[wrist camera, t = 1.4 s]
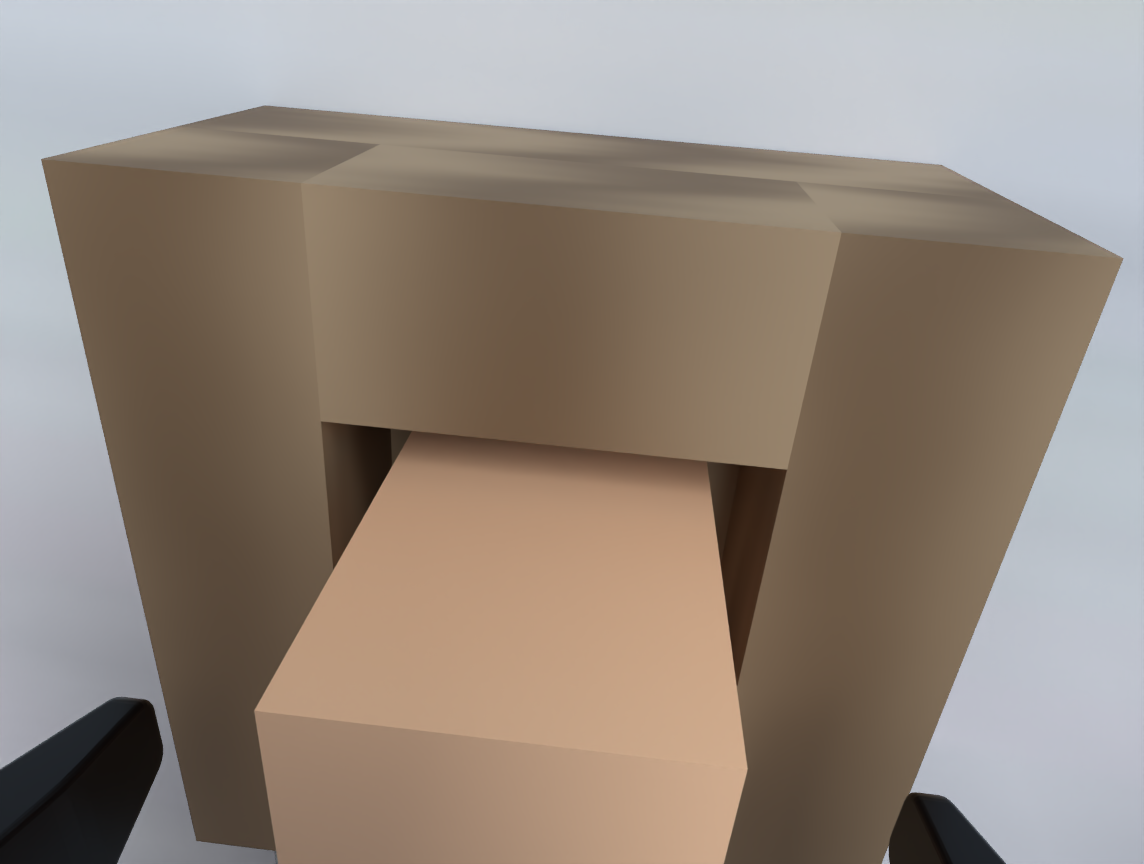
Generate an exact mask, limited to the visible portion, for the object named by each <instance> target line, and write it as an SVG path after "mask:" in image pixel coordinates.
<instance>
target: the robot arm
mask: <svg viewBox="0 0 1144 864" xmlns="http://www.w3.org/2000/svg"><path fill="white" fill-rule="evenodd" d="M162 756H163V744H162V740H161V736H160V731H159V727H158V723H157V719H156V715H155V710H154V707H153V705H152V704H151V703H150V702H149V701H147V700H144V699H136V698H127V697H116V698H113V699H111V700H109V701H107V702H105V703H104V704H102V705H101V706H99V707H97V708H96V709H94V710H93V711H91V712H90V713H88V714H86V715H85V716H83V717H82V718H80V719H79V720H77V721H75V722H74V723H72V724H71V725H69V726H68V727H66V728H64V729H63V730H61V731H60V732H58V733H57V734H55V735H53V736H52V737H50V738H49V739H47V740H46V741H44V742H42V743H41V744H39V745H38V746H36V747H35V748H33V749H31V750H30V751H28V752H27V753H25V754H24V755H22V756H20V757H19V758H17V759H16V760H14V761H13V762H11V763H9V764H8V765H6V766H5V767H3V768H2V769H0V864H117V862H118V860H119V858H120V856H121V853H122V851H123V849H124V847H125V844H126V842H127V840H128V838H129V835H130V833H131V831H132V829H133V826H134V824H135V822H136V820H137V817H138V815H139V813H140V811H141V808H142V806H143V804H144V802H145V799H146V797H147V795H148V793H149V790H150V788H151V786H152V784H153V781H154V779H155V777H156V775H157V772H158V770H159V767H160V765H161V761H162ZM889 860H890V864H1006V863H1005V862H1004V861H1003V859H1002V858H1001V857H1000V856H999V855H998V854H997V853H996V852H995V850H994V849H993V848H992V847H991V846H990V845H989V844H988V842H987V841H986V840H985V839H984V838H983V837H982V836H981V835H980V833H979V832H978V831H977V830H976V829H975V828H974V827H973V825H972V824H971V823H970V822H969V821H968V820H967V819H966V818H965V816H964V815H963V814H962V813H961V812H960V811H959V810H958V808H957V807H956V806H955V805H954V804H953V803H952V802H951V801H950V800H948V799H947V798H946V797H944V796H940V795H933V794H924V793H916V792H915V793H910V794H909V795H908V796H907V797H906V799H905V800H904V803H903V805H902V808H901V810H900V813H899V816H898V818H897V821H896V823H895V826H894V828H893V831H892V833H891V836H890V841H889Z"/></svg>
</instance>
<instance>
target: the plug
mask: <svg viewBox="0 0 1144 864" xmlns="http://www.w3.org/2000/svg"><path fill="white" fill-rule="evenodd" d="M254 713H255V719H256V725H257V732H258V738H259V745H260V751H261V757H262V764H263V770H264V776H265V783H266V789H267V795H268V802H269V808H270V815H271V821H272V827H273V834H274V840H275V846H276V853H277V859H278V864H724V861H725V857H726V853H727V849H728V845H729V841H730V837H731V833H732V829H733V825H734V821H735V817H736V813H737V809H738V806H739V802H740V798H741V794H742V790H743V786H744V782H745V778H746V774H747V770H748V768H747V761H746V753H745V745H744V738H743V730H742V723H741V715H740V708H739V700H738V693H737V685H736V678H735V670H734V663H733V655H732V648H731V640H730V633H729V625H728V617H727V610H726V602H725V595H724V587H723V580H722V572H721V565H720V557H719V550H718V542H717V535H716V527H715V520H714V512H713V505H712V497H711V490H710V482H709V474H708V467H707V461H699V460H689V459H680V458H670V457H660V456H651V455H641V454H631V453H622V452H612V451H602V450H593V449H583V448H574V447H564V446H554V445H545V444H535V443H525V442H516V441H506V440H496V439H487V438H477V437H468V436H458V435H448V434H439V433H429V432H419V431H412V432H411V434H410V435H409V437H408V439H407V441H406V443H405V444H404V446H403V448H402V450H401V451H400V453H399V455H398V457H397V458H396V460H395V462H394V464H393V466H392V467H391V469H390V471H389V473H388V474H387V476H386V478H385V480H384V482H383V483H382V485H381V487H380V489H379V490H378V492H377V494H376V496H375V497H374V499H373V501H372V503H371V505H370V506H369V508H368V510H367V512H366V513H365V515H364V517H363V519H362V521H361V522H360V524H359V526H358V528H357V529H356V531H355V533H354V535H353V536H352V538H351V540H350V542H349V544H348V545H347V547H346V549H345V551H344V552H343V554H342V556H341V558H340V560H339V561H338V563H337V565H336V567H335V568H334V570H333V572H332V574H331V575H330V577H329V579H328V581H327V583H326V584H325V586H324V588H323V590H322V591H321V593H320V595H319V597H318V599H317V600H316V602H315V604H314V606H313V607H312V609H311V611H310V613H309V614H308V616H307V618H306V620H305V622H304V623H303V625H302V627H301V629H300V630H299V632H298V634H297V636H296V638H295V639H294V641H293V643H292V645H291V646H290V648H289V650H288V652H287V653H286V655H285V657H284V659H283V661H282V662H281V664H280V666H279V668H278V669H277V671H276V673H275V675H274V677H273V678H272V680H271V682H270V684H269V685H268V687H267V689H266V691H265V692H264V694H263V696H262V698H261V700H260V701H259V703H258V705H257V707H256V708H255V710H254Z"/></svg>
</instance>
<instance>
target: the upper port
mask: <svg viewBox="0 0 1144 864" xmlns="http://www.w3.org/2000/svg"><path fill="white" fill-rule="evenodd" d="M41 161H42V165H43V169H44V174H45V178H46V183H47V187H48V191H49V196H50V200H51V204H52V209H53V213H54V218H55V222H56V226H57V231H58V235H59V240H60V244H61V248H62V253H63V257H64V262H65V266H66V270H67V275H68V279H69V283H70V288H71V292H72V297H73V301H74V305H75V310H76V314H77V319H78V323H79V327H80V332H81V336H82V341H83V345H84V349H85V354H86V358H87V362H88V367H89V371H90V376H91V380H92V384H93V389H94V393H95V398H96V402H97V406H98V411H99V415H100V420H101V424H102V428H103V433H104V437H105V441H106V446H107V450H108V455H109V459H110V463H111V468H112V472H113V477H114V481H115V485H116V490H117V494H118V499H119V503H120V507H121V512H122V516H123V520H124V525H125V529H126V534H127V538H128V542H129V547H130V551H131V556H132V560H133V564H134V569H135V573H136V578H137V582H138V586H139V591H140V595H141V599H142V604H143V608H144V613H145V617H146V621H147V626H148V630H149V635H150V639H151V643H152V648H153V652H154V657H155V661H156V665H157V670H158V674H159V678H160V683H161V687H162V692H163V696H164V700H165V705H166V709H167V714H168V718H169V722H170V727H171V731H172V736H173V740H174V744H175V749H176V753H177V757H178V762H179V766H180V771H181V775H182V779H183V784H184V788H185V793H186V797H187V801H188V806H189V810H190V815H191V819H192V823H193V828H194V832H195V836H196V841H201V842H209V843H217V844H225V845H233V846H241V847H249V848H257V849H265V850H273V851H276V846H275V840H274V834H273V827H272V821H271V815H270V808H269V802H268V795H267V789H266V783H265V776H264V770H263V764H262V757H261V751H260V745H259V738H258V732H257V725H256V719H255V713H254V710H255V708H256V707H257V705H258V703H259V701H260V700H261V698H262V696H263V694H264V692H265V691H266V689H267V687H268V685H269V684H270V682H271V680H272V678H273V677H274V675H275V673H276V671H277V669H278V668H279V666H280V664H281V662H282V661H283V659H284V657H285V655H286V653H287V652H288V650H289V648H290V646H291V645H292V643H293V641H294V639H295V638H296V636H297V634H298V632H299V630H300V629H301V627H302V625H303V623H304V622H305V620H306V618H307V616H308V614H309V613H310V611H311V609H312V607H313V606H314V604H315V602H316V600H317V599H318V597H319V595H320V593H321V591H322V590H323V588H324V586H325V584H326V583H327V581H328V579H329V577H330V575H331V574H332V572H333V570H334V568H335V567H336V565H337V563H338V561H339V560H340V558H341V556H342V554H343V552H344V551H345V549H346V547H347V545H348V544H349V542H350V540H351V538H352V536H353V535H354V533H355V531H356V529H357V528H358V526H359V524H360V522H361V521H362V519H363V517H364V515H365V513H366V512H367V510H368V508H369V506H370V505H371V503H372V501H373V499H374V497H375V496H376V494H377V492H378V490H379V489H380V487H381V485H382V483H383V482H384V480H385V478H386V476H387V474H388V473H389V471H390V469H391V467H392V466H393V464H394V462H395V460H396V458H397V457H398V455H399V453H400V451H401V450H402V448H403V446H404V444H405V443H406V441H407V439H408V437H409V435H410V434H411V432H412V431H419V432H429V433H439V434H448V435H458V436H468V437H477V438H487V439H496V440H506V441H516V442H525V443H535V444H545V445H554V446H564V447H574V448H583V449H593V450H602V451H612V452H622V453H631V454H641V455H651V456H660V457H670V458H680V459H689V460H699V461H707V467H708V474H709V482H710V490H711V497H712V505H713V512H714V520H715V527H716V535H717V542H718V550H719V557H720V565H721V572H722V580H723V587H724V595H725V602H726V610H727V617H728V625H729V633H730V640H731V648H732V655H733V663H734V670H735V678H736V685H737V693H738V700H739V708H740V715H741V723H742V730H743V738H744V745H745V753H746V761H747V768H748V770H747V774H746V778H745V782H744V786H743V790H742V794H741V798H740V802H739V806H738V809H737V813H736V817H735V821H734V825H733V829H732V833H731V837H730V841H729V845H728V849H727V853H726V857H725V861H724V864H881V863H882V861H883V858H884V856H885V853H886V851H887V848H888V846H889V841H890V836H891V833H892V831H893V828H894V826H895V823H896V821H897V818H898V816H899V813H900V810H901V808H902V805H903V803H904V800H905V799H906V797H907V796H908V795H909V793H910V791H911V788H912V786H913V783H914V781H915V778H916V776H917V773H918V771H919V768H920V766H921V763H922V761H923V758H924V756H925V753H926V751H927V748H928V746H929V743H930V741H931V738H932V736H933V733H934V731H935V728H936V726H937V723H938V721H939V718H940V716H941V713H942V711H943V708H944V706H945V703H946V701H947V698H948V696H949V693H950V691H951V688H952V686H953V683H954V681H955V678H956V676H957V673H958V671H959V668H960V666H961V663H962V661H963V658H964V656H965V653H966V651H967V648H968V646H969V643H970V641H971V638H972V636H973V633H974V631H975V628H976V626H977V623H978V621H979V618H980V616H981V613H982V611H983V608H984V606H985V603H986V601H987V598H988V596H989V593H990V591H991V588H992V586H993V583H994V581H995V578H996V576H997V573H998V571H999V568H1000V566H1001V563H1002V561H1003V558H1004V556H1005V553H1006V551H1007V548H1008V546H1009V543H1010V541H1011V538H1012V536H1013V533H1014V531H1015V528H1016V526H1017V523H1018V521H1019V518H1020V516H1021V513H1022V511H1023V508H1024V506H1025V503H1026V501H1027V498H1028V496H1029V493H1030V491H1031V488H1032V486H1033V483H1034V481H1035V478H1036V476H1037V473H1038V471H1039V468H1040V466H1041V463H1042V461H1043V458H1044V456H1045V453H1046V451H1047V448H1048V446H1049V443H1050V441H1051V438H1052V436H1053V433H1054V431H1055V428H1056V426H1057V423H1058V421H1059V418H1060V416H1061V413H1062V411H1063V408H1064V406H1065V403H1066V401H1067V398H1068V396H1069V393H1070V391H1071V388H1072V386H1073V383H1074V381H1075V378H1076V376H1077V373H1078V371H1079V368H1080V366H1081V363H1082V361H1083V358H1084V356H1085V353H1086V351H1087V348H1088V346H1089V343H1090V341H1091V338H1092V336H1093V333H1094V331H1095V328H1096V326H1097V323H1098V321H1099V318H1100V316H1101V313H1102V311H1103V308H1104V306H1105V303H1106V301H1107V298H1108V296H1109V293H1110V291H1111V288H1112V286H1113V283H1114V281H1115V278H1116V276H1117V273H1118V271H1119V268H1120V266H1121V263H1122V261H1123V258H1122V257H1120V256H1118V255H1116V254H1114V253H1112V252H1110V251H1108V250H1106V249H1104V248H1102V247H1100V246H1098V245H1096V244H1094V243H1092V242H1090V241H1088V240H1086V239H1085V238H1083V237H1081V236H1079V235H1077V234H1075V233H1073V232H1071V231H1069V230H1067V229H1065V228H1063V227H1061V226H1059V225H1057V224H1055V223H1053V222H1051V221H1049V220H1048V219H1046V218H1044V217H1042V216H1040V215H1038V214H1036V213H1034V212H1032V211H1030V210H1028V209H1026V208H1024V207H1022V206H1020V205H1018V204H1016V203H1014V202H1013V201H1011V200H1009V199H1007V198H1005V197H1003V196H1001V195H999V194H997V193H995V192H993V191H991V190H989V189H987V188H985V187H983V186H981V185H979V184H977V183H976V182H974V181H972V180H970V179H968V178H966V177H964V176H962V175H960V174H958V173H956V172H954V171H952V170H950V169H948V168H946V167H944V166H942V165H934V164H923V163H911V162H900V161H889V160H877V159H866V158H855V157H843V156H832V155H820V154H809V153H798V152H786V151H775V150H764V149H752V148H741V147H730V146H718V145H707V144H695V143H684V142H673V141H661V140H650V139H639V138H627V137H616V136H604V135H593V134H582V133H570V132H559V131H548V130H536V129H525V128H513V127H502V126H491V125H479V124H468V123H457V122H445V121H434V120H422V119H411V118H400V117H388V116H377V115H366V114H354V113H343V112H332V111H320V110H309V109H297V108H286V107H275V106H261V107H257V108H253V109H248V110H244V111H240V112H236V113H232V114H228V115H223V116H219V117H215V118H211V119H207V120H203V121H198V122H194V123H190V124H186V125H182V126H178V127H173V128H169V129H165V130H161V131H157V132H152V133H148V134H144V135H140V136H136V137H132V138H127V139H123V140H119V141H115V142H111V143H107V144H102V145H98V146H94V147H90V148H86V149H82V150H77V151H73V152H69V153H65V154H61V155H57V156H52V157H48V158H44V159H41Z"/></svg>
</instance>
